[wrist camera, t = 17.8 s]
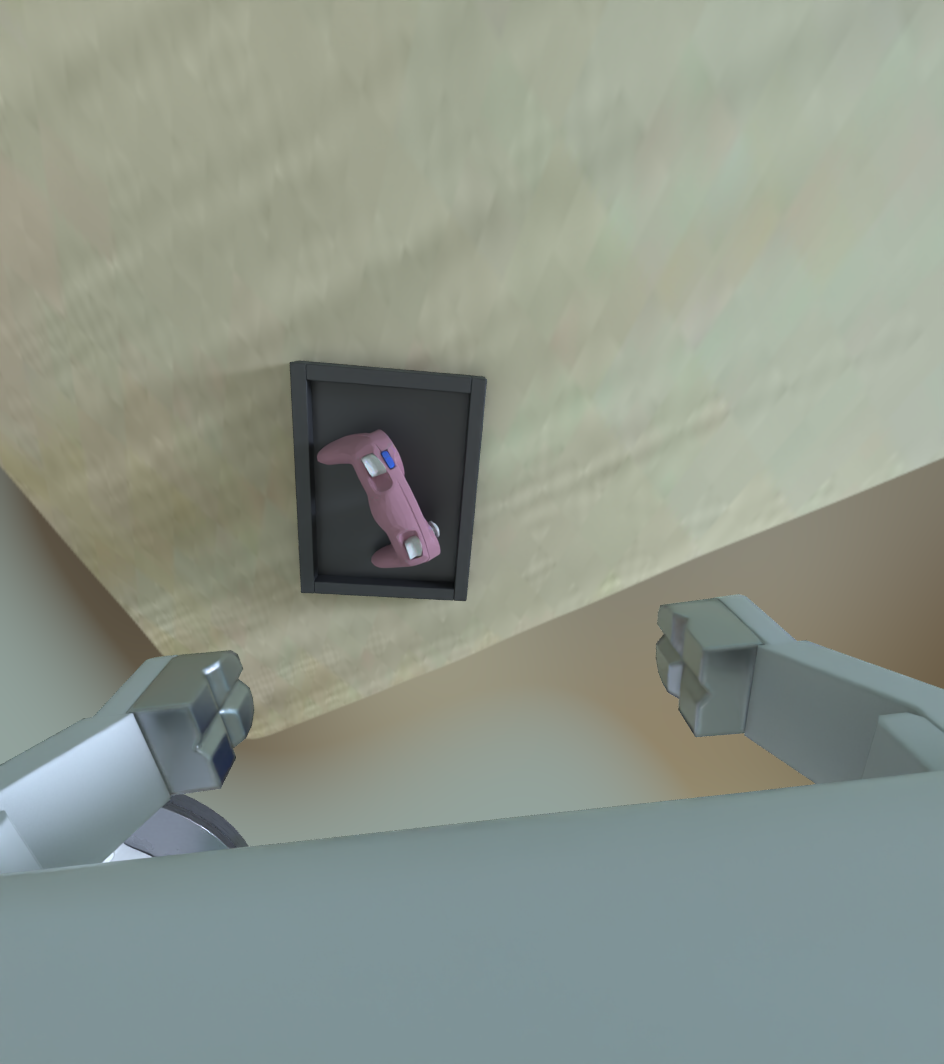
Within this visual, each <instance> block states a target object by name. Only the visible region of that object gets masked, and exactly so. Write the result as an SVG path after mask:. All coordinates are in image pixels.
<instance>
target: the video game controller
mask: <svg viewBox="0 0 944 1064" xmlns="http://www.w3.org/2000/svg"><path fill="white" fill-rule="evenodd" d="M317 460H318V461H319V462H320V463H323V464H326V465H334V464H352V465H353V467H354V469H355V471H356V474H357V476H358V478H359V480H360V482H361V484H362V486H363V488H364V490H365V491H366V493H367V496H368V501H369V506H370V510H371V513H372V515H373V517H374V519H375V521H376V522H377V523H378V525H379V526H380V527H381V528H382V529H383V530H384V531H385V532H386V533H387V535H388V537H389V539H390V541H391V544H390V545H387V546H385V547H383V548H381V549H379V550H378V551H376V552H375V553H374V554H373V555H372V558H371V562H372V563H373V564H374V565H375V566H377V567H379V568H395V567H410V566H415V565H419V564H421V563H424V562H428V561H430V560H431V559H433V558H434V557H436V556H438V555H439V554H440V545H439V543H438V540H437V538H436V536H437V537H439V535H440V534H439V528H438V526H437V525H436V524H435V523H433V522H432V521H430V522H429V524H428V522H427V521H426V520H425V518H424V517H423V515H422V512H421V510H420V508H419V506H418V503H417V501H416V499H415V497H414V495H413V493H412V491H411V489H410V487H409V485H408V483H407V481H406V479H405V477H404V467H403V464H402V460H401V458H400V455H399V453H398V451H397V449H396V447H395V446H394V444H393V442H392V441H391V440H390V438H389V437H388V436H387V434H386V433H385V432H383V431H382V430H380V429H378V430H376V431H374V432H372V433H359V434H352V435H348V436H345V437H342V438H340V439H337V440H335V441H333V442H331V443H329V444H328V445H326V446H325V447H323V448H322V449H321V450H320V451H319V453H318V455H317ZM435 535H436V536H435Z"/></svg>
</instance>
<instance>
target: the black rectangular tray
mask: <svg viewBox="0 0 944 1064" xmlns="http://www.w3.org/2000/svg"><path fill="white" fill-rule="evenodd" d="M290 377H291V398H292V418H293V438H294V458H295V479H296V499H297V519H298V540H299V560H300V580H301V593H319V594H339V595H358V596H377V597H396V598H415V599H435V600H453V599H454V600H455V601H466V599H467V588H468V577H469V567H470V556H471V545H472V535H473V524H474V513H475V502H476V492H477V481H478V470H479V459H480V449H481V438H482V427H483V417H484V406H485V395H486V384H487V379H486V378H485V377H483V376H471V375H460V374H448V373H437V372H425V371H414V370H402V369H390V368H379V367H367V366H356V365H344V364H333V363H321V362H309V361H294V362H290ZM378 429H380V430H382V431H383V432H385V433H386V434H387V436H388V437H389V438H390V440H391V441H392V442H393V444H394V446H395V447H396V449H397V451H398V453H399V455H400V458H401V460H402V464H403V467H404V477H405V479H406V481H407V483H408V485H409V487H410V489H411V491H412V493H413V495H414V497H415V499H416V501H417V503H418V506H419V508H420V510H421V512H422V515H423V517H424V518H425V520H426V521H427V522H428V524H429V522H430V521H432V522H433V523H435V524H436V525H437V526H438V528H439V534H440V535H439V537H437V536H436V535H435V536H436V538H437V540H438V543H439V545H440V554H439V555H438V556H436V557H434V558H433V559H431V560H430V561H428V562H424V563H421V564H419V565H415V566H410V567H395V568H379V567H377V566H375V565H374V564H373V563H372V562H371V558H372V555H373V554H374V553H375V552H376V551H378V550H379V549H381V548H383V547H385V546H387V545H390V544H391V541H390V539H389V537H388V535H387V533H386V532H385V531H384V530H383V529H382V528H381V527H380V526H379V525H378V523H377V522H376V521H375V519H374V517H373V515H372V513H371V510H370V506H369V501H368V496H367V493H366V491H365V490H364V488H363V486H362V484H361V482H360V480H359V478H358V476H357V474H356V471H355V469H354V467H353V465H352V464H334V465H326V464H323V463H320V462H319V461H318V460H317V455H318V453H319V451H320V450H321V449H322V448H323V447H325V446H326V445H328V444H329V443H331V442H333V441H335V440H337V439H340V438H342V437H345V436H348V435H352V434H359V433H372V432H374V431H376V430H378Z"/></svg>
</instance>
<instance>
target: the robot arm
mask: <svg viewBox="0 0 944 1064" xmlns="http://www.w3.org/2000/svg"><path fill="white" fill-rule="evenodd" d="M657 621H658V622H657V624H658V626H659V627H660V629H661V630H662V632H663V633H664V635H663V636H662V637H661V638H660V640H659V641H658V642H657V643H656V661H657V667H658V673H659V675H660V678H661V680H662V683H663V685H664V686H665V688H666V690H667V692H668V693H670V694H672V695H674V696H675V697H677V698H679V711H680V713H681V714H682V716H683V718H684V719H685V721H686V723H687V724H688V726H689V727H690V729H691V731H692V732H693V734H694V735H695V737H702V736H715V735H727V734H739V733H745V736H747V737H748V738H749V739H751V740H752V741H754V742H755V743H757V744H758V745H759V746H761V747H762V748H764V749H766V750H767V751H768V752H770V753H771V754H773V755H774V756H776V757H777V758H779V759H780V760H781V761H783V762H785V763H786V764H787V765H789V766H790V767H792V768H793V769H795V770H796V771H798V772H799V773H801V774H802V775H804V776H806V777H807V778H808V779H810V780H811V781H813V782H814V783H815V784H814V785H805V786H797V787H788V788H779V789H770V790H762V791H753V792H744V793H735V794H725V795H717V796H707V797H697V798H688V799H679V800H670V801H660V802H652V803H643V804H633V805H624V806H614V807H605V808H597V809H586V810H578V811H568V812H559V813H549V814H540V815H531V816H522V817H512V818H503V819H494V820H486V821H476V822H468V823H458V824H449V825H441V826H432V827H422V828H414V829H404V830H395V831H386V832H377V833H368V834H359V835H351V836H341V837H332V838H324V839H315V840H305V841H296V842H288V843H278V844H269V845H259V846H250V847H241V848H232V849H223V850H214V851H205V852H195V853H186V854H177V855H168V856H159V857H151V856H150V855H147V854H145V853H143V852H141V851H138V850H136V849H133V848H131V847H129V846H127V845H125V844H124V842H125V841H126V840H127V839H128V838H129V837H130V836H131V835H132V834H133V833H134V832H135V831H136V830H138V829H139V828H140V827H141V826H142V825H143V824H144V823H145V822H146V821H147V820H148V819H149V818H150V817H152V816H153V815H154V814H155V813H156V812H157V811H158V810H159V809H160V808H161V807H162V806H163V805H164V804H165V803H167V802H168V801H169V800H170V799H171V795H178V794H186V793H193V792H200V791H207V790H215V789H220V788H221V787H222V785H223V782H224V781H225V779H226V777H227V775H228V773H229V771H230V769H231V767H232V765H233V763H234V761H235V759H236V756H235V753H234V750H233V748H234V747H235V746H237V745H238V744H239V743H240V742H242V741H243V740H244V739H245V738H246V737H247V735H248V732H249V730H250V728H251V726H252V720H253V714H254V705H253V697H252V694H251V691H250V688H249V687H248V686H247V685H246V684H244V683H243V682H242V681H240V680H239V679H238V678H239V676H240V674H241V672H242V670H243V667H242V664H241V662H240V659H239V657H238V654H236V653H235V652H233V651H231V650H229V651H217V652H206V653H194V654H183V655H171V656H163V657H155V658H151V659H148V660H146V661H145V662H144V663H143V664H142V665H141V666H140V667H139V668H138V669H137V670H136V671H135V673H134V674H133V675H132V676H131V677H130V678H129V679H128V680H127V681H126V682H125V683H124V684H123V686H121V688H120V689H119V690H118V691H117V692H116V693H115V694H114V695H113V696H112V697H111V698H110V699H109V700H108V702H107V703H106V704H105V705H104V706H103V707H102V708H101V709H100V710H99V711H98V712H97V714H95V715H94V716H93V717H92V718H84V719H82V720H80V721H78V722H77V723H75V724H73V725H71V726H69V727H67V728H66V729H64V730H62V731H60V732H58V733H57V734H55V735H53V736H51V737H49V738H48V739H46V740H44V741H42V742H40V743H39V744H37V745H35V746H33V747H32V748H30V749H28V750H26V751H25V752H23V753H21V754H19V755H17V756H15V757H14V758H12V759H10V760H8V761H6V762H5V763H3V764H1V765H0V1064H944V689H941V688H938V687H935V686H933V685H930V684H927V683H924V682H921V681H918V680H916V679H913V678H910V677H907V676H904V675H902V674H899V673H896V672H893V671H891V670H888V669H885V668H882V667H879V666H877V665H874V664H870V663H868V662H865V661H862V660H860V659H857V658H854V657H851V656H848V655H846V654H843V653H840V652H837V651H834V650H832V649H829V648H826V647H823V646H820V645H817V644H815V643H812V642H809V641H796V640H795V639H794V638H793V637H792V636H791V635H789V634H788V633H787V632H786V631H785V630H784V629H783V628H781V627H780V626H779V625H778V624H777V623H776V622H775V621H773V620H772V619H771V618H770V617H769V616H768V615H767V614H766V613H764V612H763V611H762V610H761V609H760V608H759V607H758V606H756V605H755V604H754V603H753V602H752V601H751V600H750V599H748V598H747V597H746V596H743V595H740V594H737V595H730V596H723V597H716V598H711V599H703V600H696V601H688V602H680V603H673V604H665V605H660V609H659V612H658V620H657Z"/></svg>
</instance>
